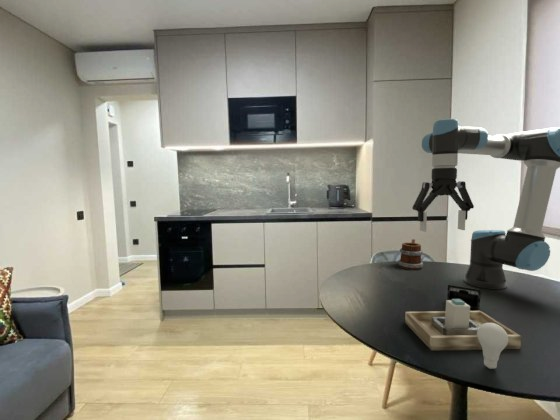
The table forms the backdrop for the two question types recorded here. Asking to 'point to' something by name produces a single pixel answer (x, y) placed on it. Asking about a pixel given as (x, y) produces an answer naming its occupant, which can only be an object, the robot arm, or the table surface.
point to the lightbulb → (492, 342)
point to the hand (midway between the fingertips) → (442, 230)
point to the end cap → (465, 295)
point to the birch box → (437, 341)
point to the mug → (411, 256)
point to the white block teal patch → (457, 314)
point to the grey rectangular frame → (440, 322)
